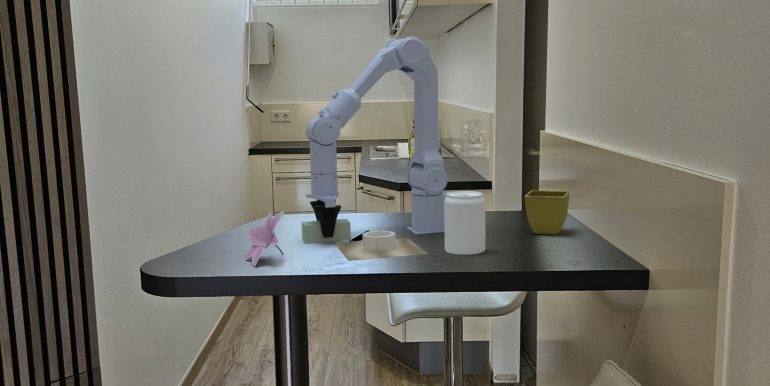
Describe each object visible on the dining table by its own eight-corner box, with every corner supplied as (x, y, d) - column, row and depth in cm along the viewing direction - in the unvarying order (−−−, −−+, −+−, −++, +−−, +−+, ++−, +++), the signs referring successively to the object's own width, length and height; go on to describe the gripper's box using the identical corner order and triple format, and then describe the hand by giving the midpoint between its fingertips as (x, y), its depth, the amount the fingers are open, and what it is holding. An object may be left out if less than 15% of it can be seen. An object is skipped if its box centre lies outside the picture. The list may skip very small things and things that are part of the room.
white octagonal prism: (390, 243, 148) (390, 229, 147) (398, 250, 142) (398, 235, 141) (360, 246, 146) (360, 231, 146) (367, 252, 140) (367, 238, 140)
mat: (406, 240, 154) (406, 237, 154) (428, 257, 138) (428, 253, 138) (334, 245, 150) (334, 242, 150) (348, 263, 134) (348, 260, 134)
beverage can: (459, 259, 136) (458, 198, 134) (437, 251, 143) (436, 193, 141) (493, 254, 139) (493, 194, 138) (470, 246, 146) (470, 189, 145)
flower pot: (523, 235, 156) (523, 195, 155) (530, 227, 164) (531, 189, 163) (564, 237, 153) (564, 196, 151) (569, 229, 161) (570, 191, 159)
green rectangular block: (347, 238, 157) (346, 218, 156) (351, 242, 153) (350, 222, 152) (302, 241, 154) (301, 221, 154) (305, 246, 150) (304, 225, 149)
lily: (252, 257, 146) (230, 221, 141) (303, 234, 145) (283, 197, 141) (252, 290, 135) (227, 252, 131) (307, 265, 135) (285, 226, 130)
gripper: (301, 170, 157) (303, 229, 159) (310, 178, 143) (312, 243, 145) (332, 168, 159) (334, 227, 161) (344, 176, 145) (346, 240, 147)
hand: (326, 234), depth 153 cm, fingers closed on green rectangular block, 4 cm apart
